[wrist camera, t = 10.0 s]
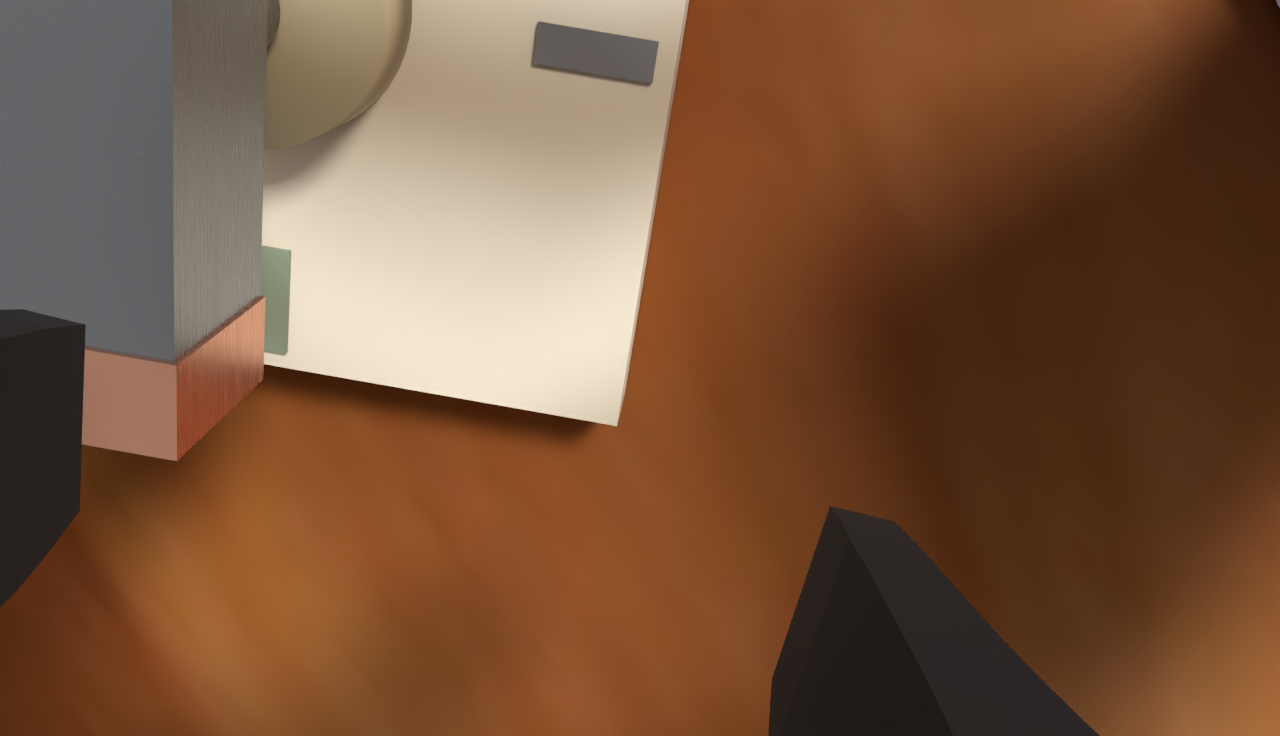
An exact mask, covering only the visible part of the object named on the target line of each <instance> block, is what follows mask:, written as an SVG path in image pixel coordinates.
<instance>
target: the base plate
mask: <svg viewBox="0 0 1280 736" xmlns="http://www.w3.org/2000/svg"><path fill="white" fill-rule="evenodd" d="M279 3H280V23H279V28H278V31H277V33H276V35H275V37H274V39H273V41H272V42H271V43H270V45H269V46H268V47H267V54H266V93H265V132H264V171H263V211H262V250H261V289H260V296H264V297H265V334H264V364H266V365H272V366H277V367H283V368H289V369H294V370H300V371H306V372H312V373H317V374H323V375H329V376H334V377H340V378H346V379H351V380H357V381H363V382H369V383H374V384H380V385H386V386H391V387H397V388H403V389H408V390H414V391H420V392H425V393H431V394H437V395H443V396H448V397H454V398H460V399H465V400H471V401H477V402H482V403H488V404H494V405H500V406H505V407H511V408H517V409H522V410H528V411H534V412H539V413H545V414H551V415H556V416H562V417H568V418H574V419H579V420H585V421H591V422H596V423H602V424H608V425H613V426H617V424H618V420H619V416H620V411H621V407H622V403H623V399H624V395H625V390H626V384H627V378H628V371H629V365H630V359H631V353H632V347H633V341H634V335H635V329H636V323H637V316H638V310H639V304H640V298H641V292H642V286H643V280H644V274H645V267H646V261H647V255H648V249H649V243H650V237H651V231H652V225H653V219H654V212H655V206H656V200H657V194H658V188H659V182H660V176H661V170H662V164H663V157H664V151H665V145H666V139H667V133H668V127H669V121H670V115H671V109H672V102H673V96H674V90H675V84H676V78H677V72H678V66H679V60H680V53H681V47H682V41H683V35H684V29H685V23H686V17H687V11H688V5H689V0H279Z"/></svg>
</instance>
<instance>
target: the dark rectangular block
mask: <svg viewBox="0 0 1280 736" xmlns="http://www.w3.org/2000/svg"><path fill="white" fill-rule="evenodd" d="M279 23H280V3H279V0H0V310H8V309H24V310H28V311H32V312H36V313H40V314H44V315H49V316H53V317H57V318H61V319H65V320H69V321H73V322H77V323H81V324H85V325H86V331H85V361H84V390H83V420H82V444H83V445H89V446H94V447H100V448H105V449H111V450H117V451H122V452H128V453H134V454H139V455H145V456H150V457H156V458H162V459H167V460H173V461H178V460H179V459H180V458H181V457H182V456H183V455H184V454H185V453H186V452H187V451H188V450H189V449H190V448H191V447H192V446H194V445H195V444H196V443H197V442H198V441H199V440H200V439H201V438H202V437H203V436H204V435H205V434H206V433H207V432H208V431H209V430H210V429H211V428H212V427H214V426H215V425H216V424H217V423H218V422H219V421H220V420H221V419H222V418H223V417H224V416H225V415H226V414H227V413H228V412H229V411H230V410H231V409H233V408H234V407H235V406H236V405H237V404H238V403H239V402H240V401H241V400H242V399H243V398H244V397H245V396H246V395H247V394H248V393H249V392H250V391H252V390H253V389H254V388H255V387H256V386H257V385H258V384H259V383H260V382H261V381H262V380H263V370H264V334H265V297H264V296H260V289H261V250H262V211H263V171H264V132H265V93H266V54H267V47H268V46H269V45H270V43H271V42H272V41H273V39H274V37H275V35H276V33H277V31H278V28H279Z"/></svg>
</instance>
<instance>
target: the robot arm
mask: <svg viewBox="0 0 1280 736" xmlns="http://www.w3.org/2000/svg"><path fill="white" fill-rule="evenodd" d="M1276 2H1277V4H1278V6H1279V8H1280V0H1276ZM85 331H86V325H85V324H81V323H77V322H73V321H69V320H65V319H61V318H57V317H53V316H49V315H44V314H40V313H36V312H32V311H28V310H24V309H8V310H0V607H1V606H2V605H3V604H4V603H5V602H6V601H7V600H8V599H9V598H10V597H11V596H12V595H13V594H14V593H15V592H16V591H17V590H18V588H19V587H20V586H21V585H22V584H23V582H24V581H25V580H26V579H27V578H28V576H29V575H30V574H31V573H32V571H33V570H34V569H35V568H36V567H37V565H38V564H39V563H40V562H41V561H42V559H43V558H44V557H45V556H46V554H47V553H48V552H49V550H50V549H51V548H52V546H53V545H54V544H55V543H56V541H57V540H58V539H59V537H60V536H61V535H62V533H63V532H64V531H65V529H66V528H67V527H68V525H69V524H70V523H71V521H72V520H73V519H74V517H75V516H76V515H77V513H78V512H79V509H80V480H81V450H82V420H83V390H84V361H85ZM769 736H1099V735H1098V734H1097V733H1096V732H1095V731H1094V730H1093V729H1092V728H1091V727H1090V726H1089V725H1088V724H1086V723H1085V722H1084V721H1083V720H1082V719H1081V718H1080V717H1079V716H1078V715H1077V714H1076V713H1075V712H1074V711H1073V710H1072V709H1071V708H1070V707H1069V706H1068V705H1067V704H1066V703H1065V702H1064V701H1063V700H1062V699H1061V698H1060V697H1059V696H1058V695H1057V694H1056V693H1055V692H1053V691H1052V690H1051V689H1050V688H1049V687H1048V686H1047V685H1046V684H1045V683H1044V682H1043V681H1042V680H1041V679H1040V678H1039V677H1038V676H1037V675H1036V674H1035V673H1034V672H1033V671H1032V670H1031V669H1030V668H1029V666H1028V665H1027V664H1026V663H1025V662H1024V661H1023V660H1022V659H1021V658H1020V657H1019V656H1018V655H1017V654H1016V653H1015V652H1014V651H1013V650H1012V649H1011V648H1010V647H1009V646H1008V645H1007V643H1006V642H1005V641H1004V640H1003V639H1002V638H1001V637H1000V636H999V635H998V634H997V633H996V632H995V631H994V629H993V628H992V627H991V626H990V625H989V624H988V623H987V622H986V621H985V620H984V619H983V617H982V616H981V615H980V614H979V613H978V612H977V611H976V610H975V609H974V607H973V606H972V605H971V604H970V603H969V602H968V601H967V600H966V599H965V597H964V596H963V595H962V594H961V593H960V592H959V591H958V590H957V588H956V587H955V586H954V585H953V584H952V583H951V582H950V581H949V579H948V578H947V577H946V576H945V575H944V574H943V573H942V572H941V570H940V569H939V568H938V567H937V566H936V565H935V564H934V563H933V561H932V560H931V559H930V558H929V557H928V556H927V555H926V554H925V553H924V552H923V550H922V549H921V548H920V547H919V546H918V545H917V544H916V543H915V542H914V541H913V540H912V539H911V538H910V537H909V536H908V535H907V534H906V533H905V532H904V531H903V530H902V529H901V528H900V527H899V526H898V525H897V524H896V523H895V522H893V521H889V520H885V519H881V518H877V517H873V516H869V515H865V514H860V513H856V512H852V511H848V510H844V509H840V508H836V507H832V506H830V509H829V512H828V515H827V518H826V521H825V523H824V526H823V529H822V532H821V535H820V538H819V541H818V544H817V547H816V550H815V553H814V556H813V559H812V562H811V565H810V568H809V571H808V574H807V577H806V580H805V583H804V586H803V589H802V592H801V595H800V598H799V601H798V604H797V607H796V610H795V612H794V615H793V618H792V621H791V624H790V627H789V630H788V633H787V636H786V639H785V642H784V645H783V648H782V651H781V654H780V657H779V660H778V663H777V666H776V669H775V672H774V675H773V678H772V687H771V703H770V719H769Z"/></svg>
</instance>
